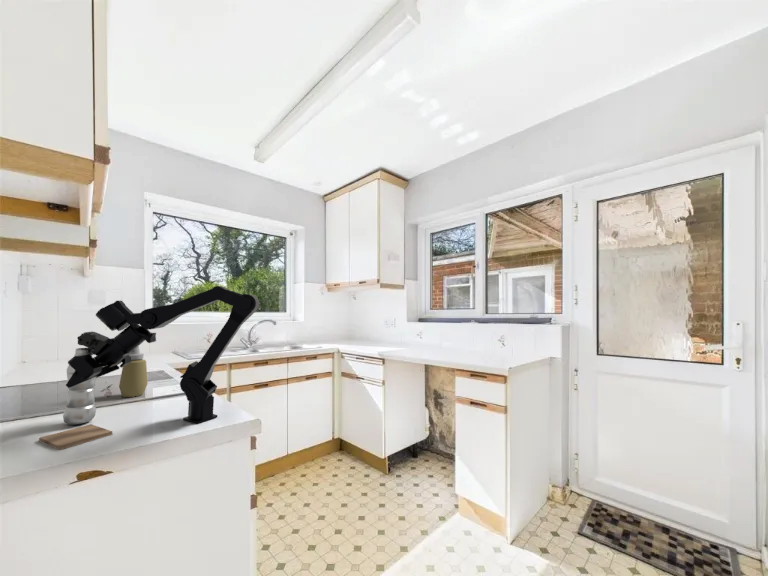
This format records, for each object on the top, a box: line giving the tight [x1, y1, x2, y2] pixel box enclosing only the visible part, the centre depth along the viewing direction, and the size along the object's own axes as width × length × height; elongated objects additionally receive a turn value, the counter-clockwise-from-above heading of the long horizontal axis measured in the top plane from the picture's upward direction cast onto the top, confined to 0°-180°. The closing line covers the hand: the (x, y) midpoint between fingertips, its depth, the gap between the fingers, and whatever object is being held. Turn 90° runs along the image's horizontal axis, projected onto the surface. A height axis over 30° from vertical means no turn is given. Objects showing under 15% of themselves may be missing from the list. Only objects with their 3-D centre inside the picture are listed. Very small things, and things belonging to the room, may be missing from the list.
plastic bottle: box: [62, 347, 97, 426], centre depth 90 cm, size 6×7×20 cm
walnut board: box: [38, 424, 113, 451], centre depth 80 cm, size 10×10×1 cm
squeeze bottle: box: [118, 345, 148, 398], centre depth 117 cm, size 8×8×18 cm
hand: (76, 383), depth 90 cm, fingers closed on plastic bottle, 6 cm apart
